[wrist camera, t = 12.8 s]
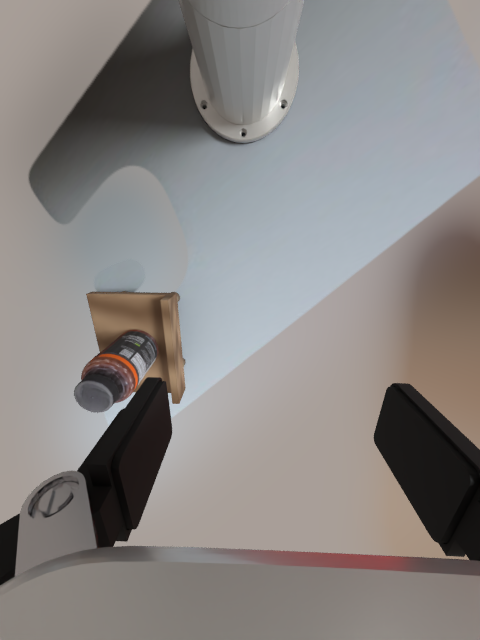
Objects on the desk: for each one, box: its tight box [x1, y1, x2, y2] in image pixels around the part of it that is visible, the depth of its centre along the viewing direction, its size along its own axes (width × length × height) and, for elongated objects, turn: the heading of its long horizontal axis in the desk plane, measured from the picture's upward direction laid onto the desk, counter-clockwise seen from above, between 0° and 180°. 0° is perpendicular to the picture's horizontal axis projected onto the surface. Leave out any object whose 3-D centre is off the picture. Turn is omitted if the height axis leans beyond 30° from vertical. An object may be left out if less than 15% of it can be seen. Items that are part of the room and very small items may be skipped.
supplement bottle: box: [74, 330, 158, 412], centre depth 29 cm, size 6×6×11 cm
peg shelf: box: [86, 291, 185, 404], centre depth 36 cm, size 16×12×9 cm
